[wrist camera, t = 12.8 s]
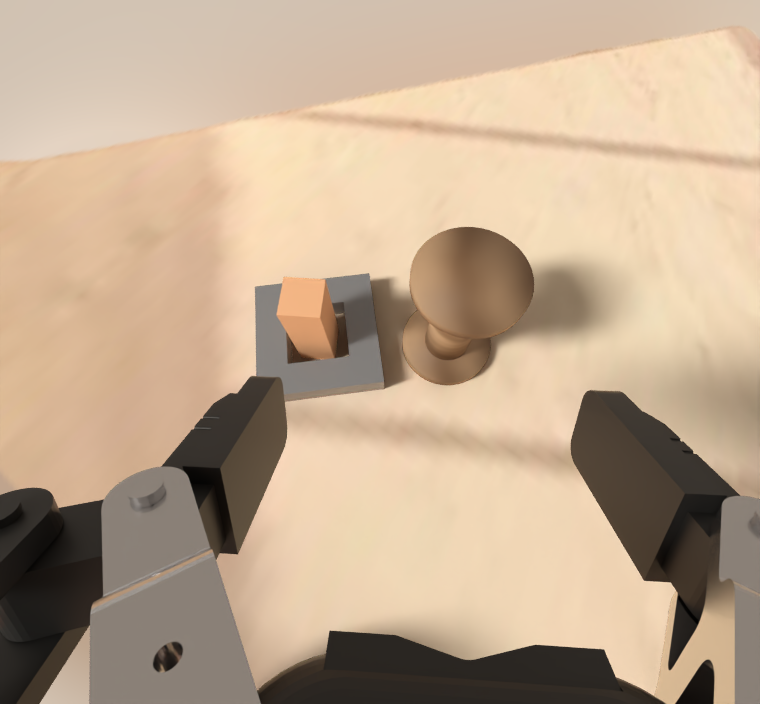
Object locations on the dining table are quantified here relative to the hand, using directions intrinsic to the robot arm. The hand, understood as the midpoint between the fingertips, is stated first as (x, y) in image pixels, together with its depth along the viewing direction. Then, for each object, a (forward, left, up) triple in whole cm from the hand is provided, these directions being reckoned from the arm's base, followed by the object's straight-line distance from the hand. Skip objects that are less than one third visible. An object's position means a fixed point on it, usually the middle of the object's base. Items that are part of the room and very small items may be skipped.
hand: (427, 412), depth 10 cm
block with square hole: (+6, -14, -27) cm, 31 cm away
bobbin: (-7, -12, -27) cm, 30 cm away
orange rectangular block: (+6, -14, -27) cm, 31 cm away
